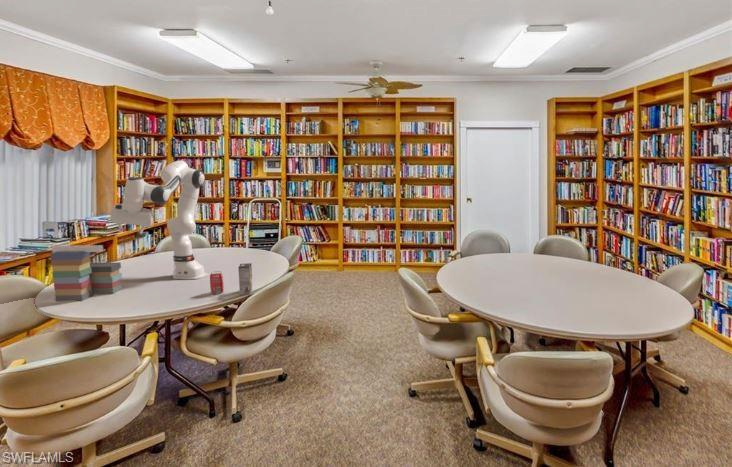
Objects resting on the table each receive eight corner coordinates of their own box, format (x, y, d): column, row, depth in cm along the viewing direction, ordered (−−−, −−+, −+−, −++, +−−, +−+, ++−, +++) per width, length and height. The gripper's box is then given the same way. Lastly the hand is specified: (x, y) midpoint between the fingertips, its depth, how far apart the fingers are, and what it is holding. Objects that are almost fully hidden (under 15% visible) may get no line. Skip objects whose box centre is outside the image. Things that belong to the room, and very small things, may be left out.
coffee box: (241, 290, 238) (240, 263, 236) (252, 289, 240) (251, 263, 237) (239, 294, 229) (238, 267, 227) (251, 294, 231) (250, 266, 228)
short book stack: (122, 288, 240) (120, 262, 237) (113, 293, 230) (111, 266, 227) (94, 289, 238) (91, 262, 236) (84, 294, 229) (81, 266, 226)
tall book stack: (94, 295, 227) (89, 249, 223) (83, 300, 217) (78, 253, 213) (67, 295, 226) (62, 249, 222) (55, 301, 216) (50, 253, 212)
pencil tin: (103, 250, 221) (102, 245, 220) (99, 251, 217) (99, 246, 217) (56, 251, 219) (56, 245, 218) (52, 252, 215) (51, 246, 215)
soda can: (218, 290, 238) (217, 270, 236) (226, 292, 234) (225, 272, 232) (208, 293, 232) (207, 272, 230) (215, 295, 228) (214, 274, 226)
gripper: (155, 209, 222) (153, 234, 224) (114, 204, 218) (112, 229, 219) (152, 210, 216) (150, 235, 218) (109, 205, 212) (107, 231, 213)
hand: (131, 232), depth 219 cm, fingers open, 8 cm apart
